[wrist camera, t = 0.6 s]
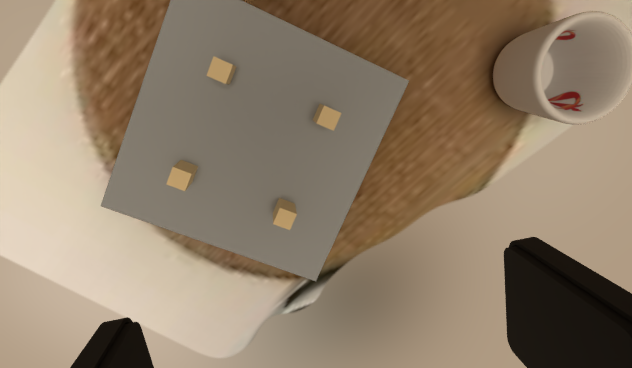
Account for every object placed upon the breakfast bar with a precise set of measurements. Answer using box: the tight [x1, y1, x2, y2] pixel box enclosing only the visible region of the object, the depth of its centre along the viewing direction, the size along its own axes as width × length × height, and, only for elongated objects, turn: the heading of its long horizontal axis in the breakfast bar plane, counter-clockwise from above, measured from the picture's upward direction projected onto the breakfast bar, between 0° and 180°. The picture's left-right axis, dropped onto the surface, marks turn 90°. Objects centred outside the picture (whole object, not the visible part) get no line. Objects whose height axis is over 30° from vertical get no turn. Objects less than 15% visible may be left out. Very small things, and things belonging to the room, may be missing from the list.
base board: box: [101, 0, 409, 281], centre depth 33 cm, size 20×20×4 cm
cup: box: [493, 11, 632, 124], centre depth 33 cm, size 11×8×8 cm
